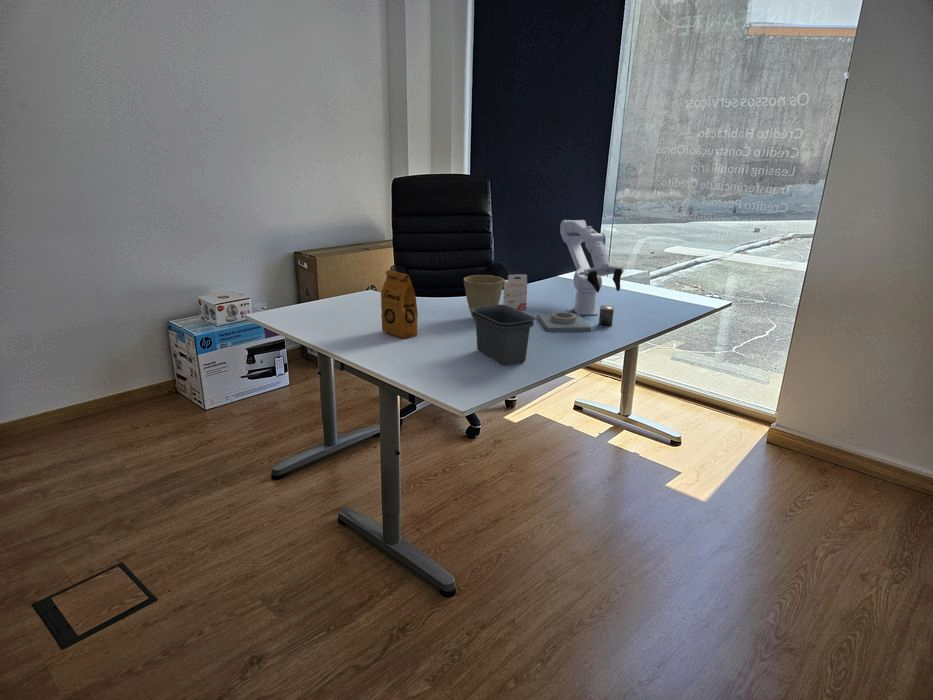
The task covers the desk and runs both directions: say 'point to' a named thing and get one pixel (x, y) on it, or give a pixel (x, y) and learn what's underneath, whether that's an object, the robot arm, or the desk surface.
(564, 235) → the robot arm
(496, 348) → the storage bin
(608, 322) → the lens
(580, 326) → the mount plate
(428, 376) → the desk surface
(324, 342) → the desk surface
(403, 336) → the coffee package
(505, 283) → the ink cartridge box
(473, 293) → the plant pot
